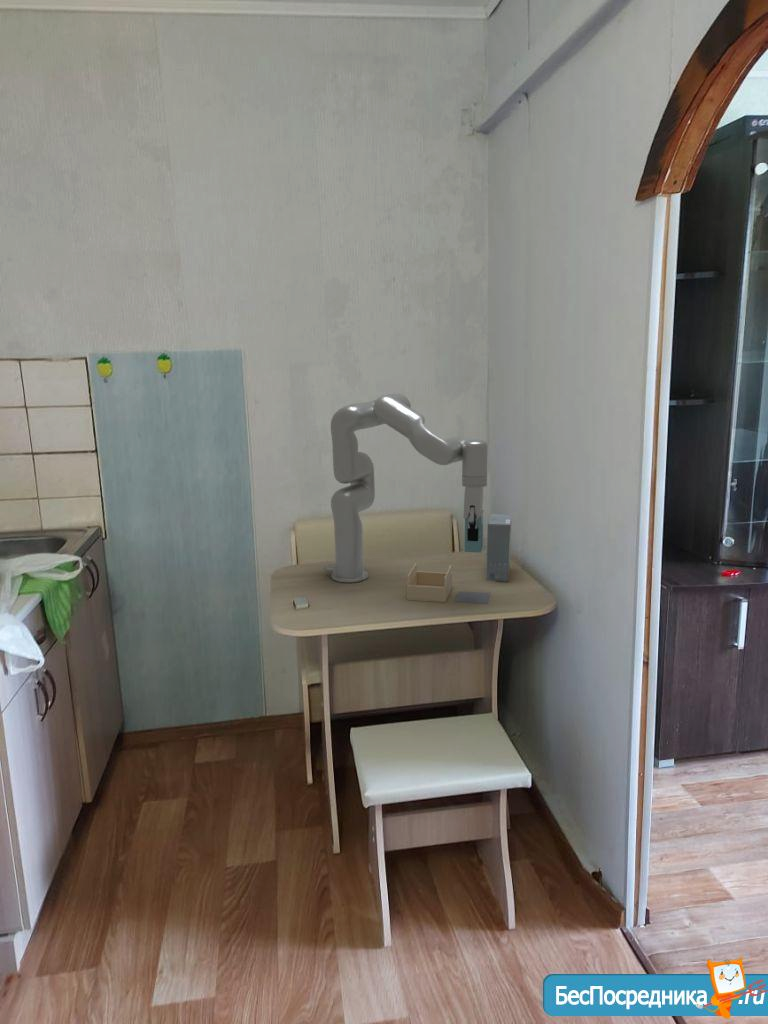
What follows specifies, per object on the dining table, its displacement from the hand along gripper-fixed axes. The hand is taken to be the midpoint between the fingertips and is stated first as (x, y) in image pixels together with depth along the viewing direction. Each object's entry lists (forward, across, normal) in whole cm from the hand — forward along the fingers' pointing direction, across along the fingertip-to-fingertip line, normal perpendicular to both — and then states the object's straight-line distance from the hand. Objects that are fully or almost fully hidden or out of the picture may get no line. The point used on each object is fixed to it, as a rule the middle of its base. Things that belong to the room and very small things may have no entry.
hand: (473, 537), depth 233 cm
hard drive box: (+20, -26, +6) cm, 33 cm away
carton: (+20, -2, -14) cm, 24 cm away
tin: (+4, 0, 0) cm, 4 cm away
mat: (+20, 0, 0) cm, 20 cm away
